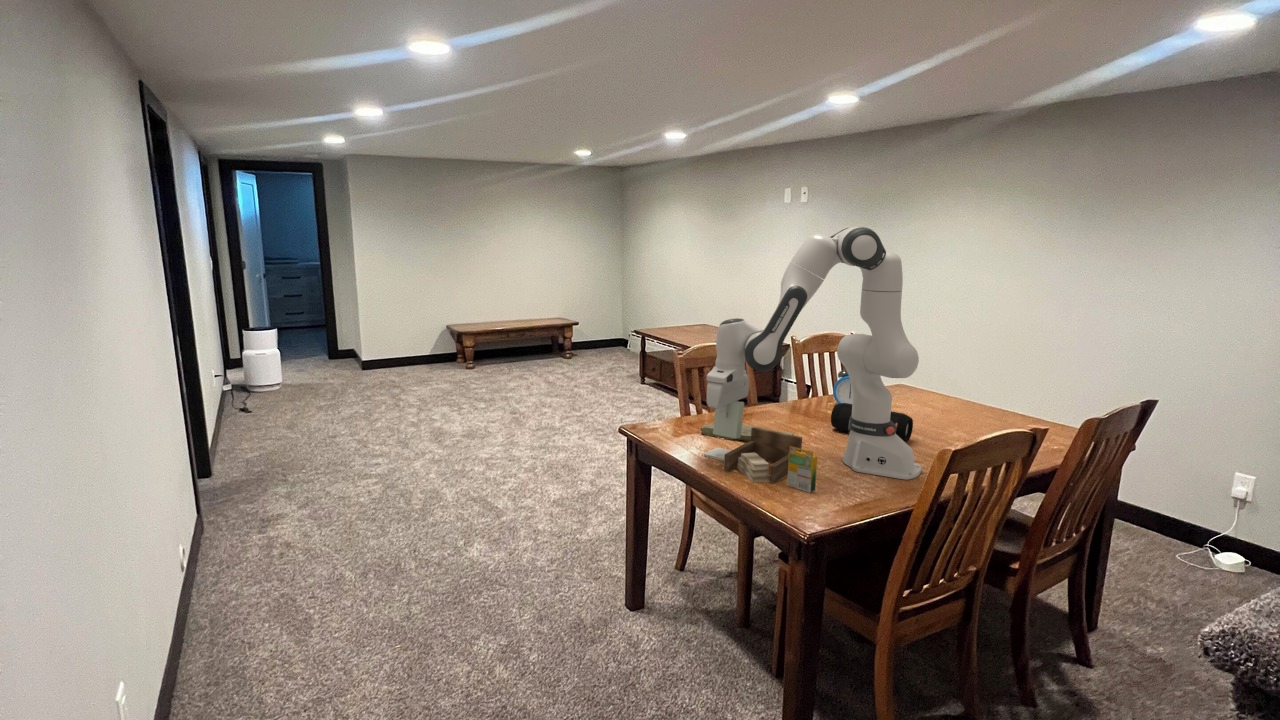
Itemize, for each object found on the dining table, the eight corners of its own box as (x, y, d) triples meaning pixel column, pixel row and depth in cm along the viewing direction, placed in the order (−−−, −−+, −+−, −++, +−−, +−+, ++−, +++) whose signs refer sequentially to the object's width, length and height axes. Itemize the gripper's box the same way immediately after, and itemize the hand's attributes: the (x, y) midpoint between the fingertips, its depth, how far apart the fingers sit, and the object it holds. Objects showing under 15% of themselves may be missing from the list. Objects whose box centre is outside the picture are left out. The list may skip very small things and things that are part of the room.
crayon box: (815, 490, 183) (818, 449, 181) (810, 493, 181) (813, 452, 178) (791, 482, 188) (794, 443, 185) (786, 485, 185) (789, 445, 183)
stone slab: (708, 418, 238) (794, 426, 227) (708, 430, 239) (794, 438, 228) (698, 427, 227) (788, 436, 216) (698, 439, 228) (787, 448, 217)
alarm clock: (831, 406, 267) (834, 370, 264) (835, 403, 272) (838, 367, 269) (865, 411, 261) (868, 374, 258) (868, 408, 266) (871, 371, 263)
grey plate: (747, 456, 208) (747, 454, 208) (735, 464, 201) (735, 461, 201) (716, 449, 214) (716, 447, 214) (703, 456, 208) (704, 453, 208)
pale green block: (740, 437, 204) (744, 402, 203) (735, 438, 202) (739, 402, 201) (717, 432, 209) (721, 398, 208) (712, 433, 206) (716, 398, 206)
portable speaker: (828, 432, 235) (830, 404, 233) (839, 425, 243) (841, 399, 241) (903, 447, 220) (906, 418, 218) (912, 440, 227) (915, 412, 225)
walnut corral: (800, 465, 201) (802, 437, 199) (774, 483, 187) (776, 453, 185) (752, 454, 210) (753, 426, 208) (723, 470, 196) (725, 441, 194)
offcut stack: (769, 481, 189) (770, 464, 188) (753, 483, 187) (754, 465, 186) (752, 467, 200) (753, 450, 199) (737, 468, 198) (738, 452, 197)
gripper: (736, 365, 212) (734, 407, 215) (703, 376, 196) (701, 421, 199) (754, 368, 209) (752, 410, 212) (722, 379, 193) (720, 425, 195)
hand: (727, 416), depth 205 cm, fingers closed on pale green block, 3 cm apart
